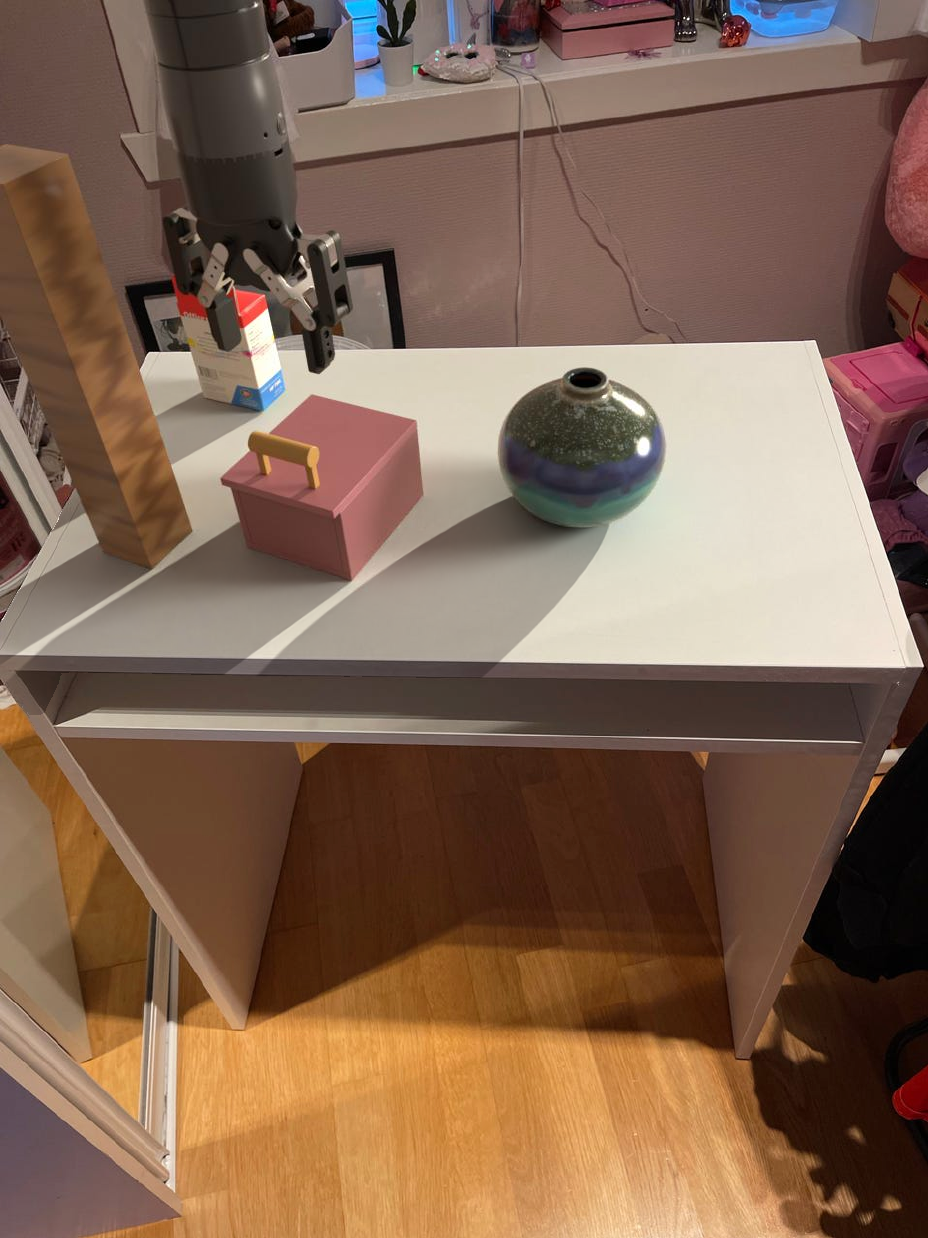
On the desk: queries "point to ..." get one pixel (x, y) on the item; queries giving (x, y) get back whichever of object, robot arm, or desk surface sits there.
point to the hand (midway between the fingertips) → (275, 357)
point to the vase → (581, 449)
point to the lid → (319, 455)
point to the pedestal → (83, 359)
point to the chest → (337, 519)
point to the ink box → (234, 352)
